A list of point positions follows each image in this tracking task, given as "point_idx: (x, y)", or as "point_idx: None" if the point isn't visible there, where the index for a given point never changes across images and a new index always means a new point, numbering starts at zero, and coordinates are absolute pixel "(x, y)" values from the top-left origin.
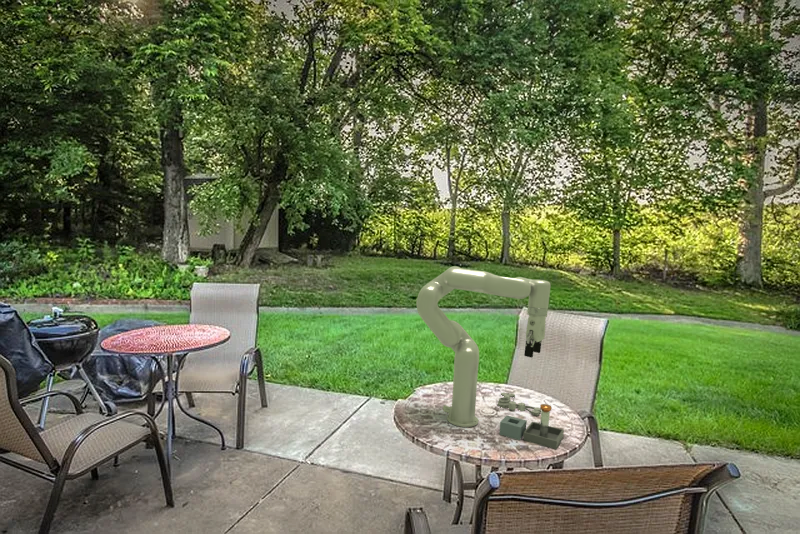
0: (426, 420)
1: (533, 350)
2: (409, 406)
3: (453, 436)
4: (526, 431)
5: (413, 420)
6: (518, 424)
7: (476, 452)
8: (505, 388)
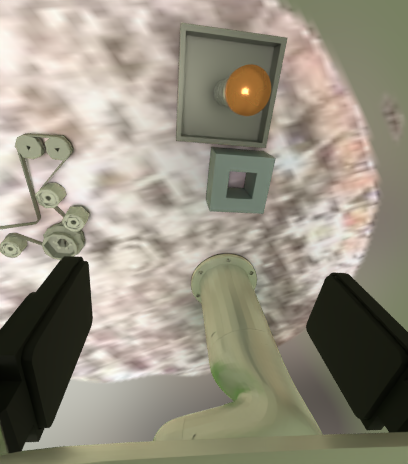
0: None
1: (385, 322)
2: None
3: (302, 269)
4: (252, 142)
5: None
6: (258, 168)
7: (355, 216)
8: None
